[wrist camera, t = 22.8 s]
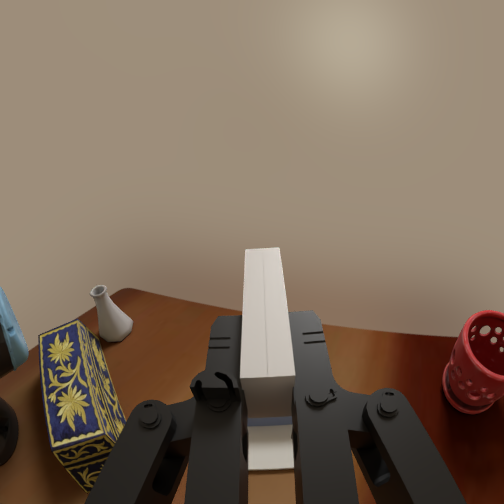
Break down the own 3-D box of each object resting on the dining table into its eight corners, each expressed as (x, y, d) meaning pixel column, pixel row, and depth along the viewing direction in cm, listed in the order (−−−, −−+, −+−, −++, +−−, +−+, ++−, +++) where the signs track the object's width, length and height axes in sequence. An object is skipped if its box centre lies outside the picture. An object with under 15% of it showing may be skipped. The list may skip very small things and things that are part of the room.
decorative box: (99, 338, 49) (80, 304, 44) (152, 475, 28) (123, 455, 23) (55, 356, 45) (33, 324, 40) (88, 496, 23) (50, 478, 18)
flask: (123, 346, 47) (102, 306, 42) (94, 339, 49) (73, 300, 43) (139, 319, 53) (123, 279, 48) (111, 314, 55) (94, 276, 49)
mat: (331, 463, 28) (332, 462, 28) (220, 469, 29) (219, 468, 28) (313, 345, 46) (313, 342, 45) (228, 349, 46) (228, 347, 46)
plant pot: (447, 348, 40) (473, 297, 34) (501, 375, 32) (535, 327, 26) (420, 403, 33) (454, 354, 27) (483, 435, 25) (529, 392, 18)
